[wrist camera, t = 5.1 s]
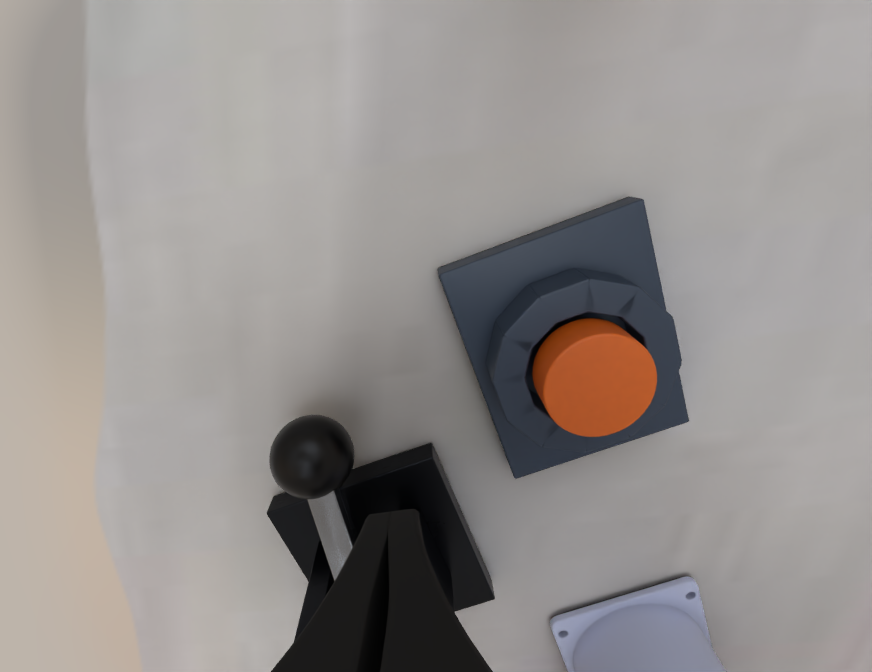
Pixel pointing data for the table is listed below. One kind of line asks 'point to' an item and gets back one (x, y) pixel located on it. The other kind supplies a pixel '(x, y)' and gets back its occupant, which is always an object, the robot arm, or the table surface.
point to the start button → (594, 377)
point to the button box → (562, 323)
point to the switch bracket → (385, 492)
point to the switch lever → (318, 479)
